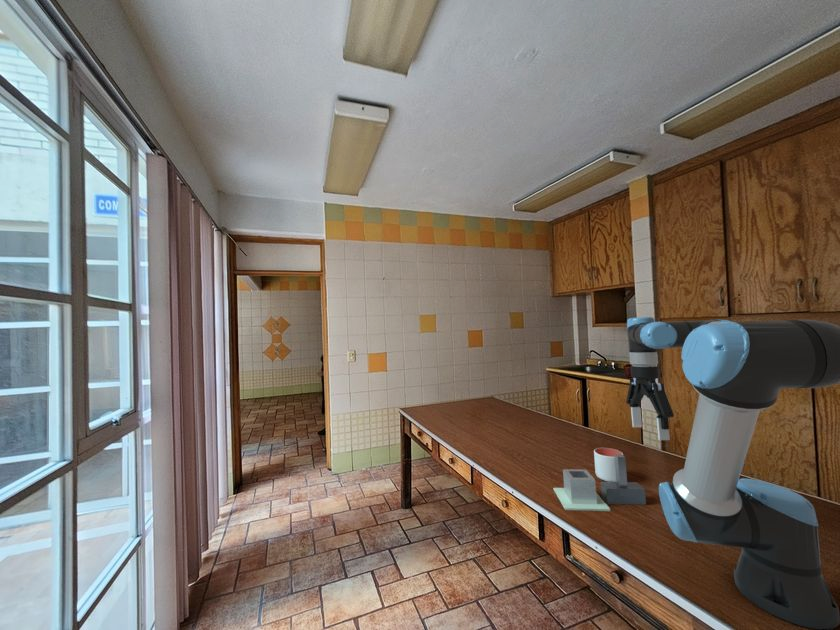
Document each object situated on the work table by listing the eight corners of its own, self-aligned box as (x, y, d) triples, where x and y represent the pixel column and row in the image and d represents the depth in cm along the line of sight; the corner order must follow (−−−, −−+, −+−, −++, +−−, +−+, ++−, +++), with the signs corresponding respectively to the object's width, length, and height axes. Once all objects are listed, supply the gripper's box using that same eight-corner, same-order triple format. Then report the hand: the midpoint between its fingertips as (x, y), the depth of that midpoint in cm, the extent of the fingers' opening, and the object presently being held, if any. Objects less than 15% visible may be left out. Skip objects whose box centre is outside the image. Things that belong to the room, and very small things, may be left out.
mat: (610, 511, 106) (610, 509, 106) (565, 510, 108) (565, 508, 108) (593, 490, 120) (593, 488, 120) (553, 489, 121) (553, 487, 121)
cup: (629, 484, 122) (627, 457, 123) (600, 483, 124) (598, 456, 125) (618, 473, 132) (617, 448, 133) (592, 472, 134) (590, 447, 135)
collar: (596, 504, 109) (595, 479, 109) (571, 503, 110) (570, 479, 110) (587, 492, 117) (586, 469, 117) (564, 491, 118) (562, 469, 118)
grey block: (645, 504, 109) (642, 458, 109) (607, 503, 110) (604, 458, 111) (637, 496, 114) (634, 453, 114) (601, 496, 115) (598, 453, 116)
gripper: (684, 368, 92) (691, 446, 91) (634, 362, 117) (639, 422, 115) (656, 369, 93) (663, 446, 91) (612, 362, 117) (616, 422, 116)
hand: (649, 433), depth 103 cm, fingers open, 13 cm apart
